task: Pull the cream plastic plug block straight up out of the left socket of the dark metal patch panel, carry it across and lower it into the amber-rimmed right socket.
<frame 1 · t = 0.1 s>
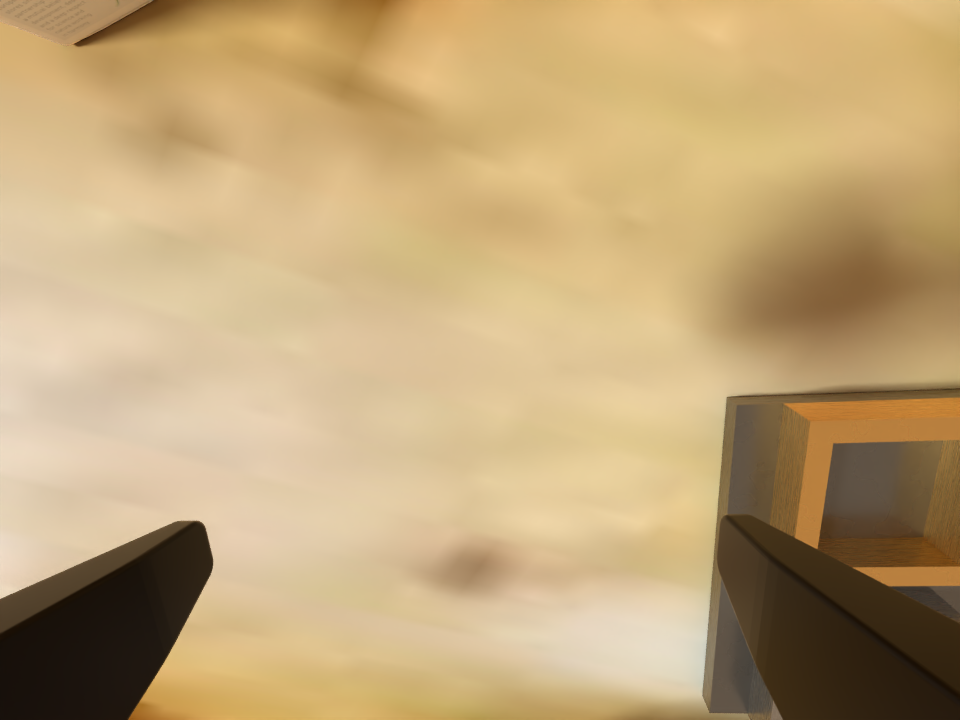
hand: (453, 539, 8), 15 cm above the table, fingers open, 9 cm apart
panel: (835, 559, 24), on the table
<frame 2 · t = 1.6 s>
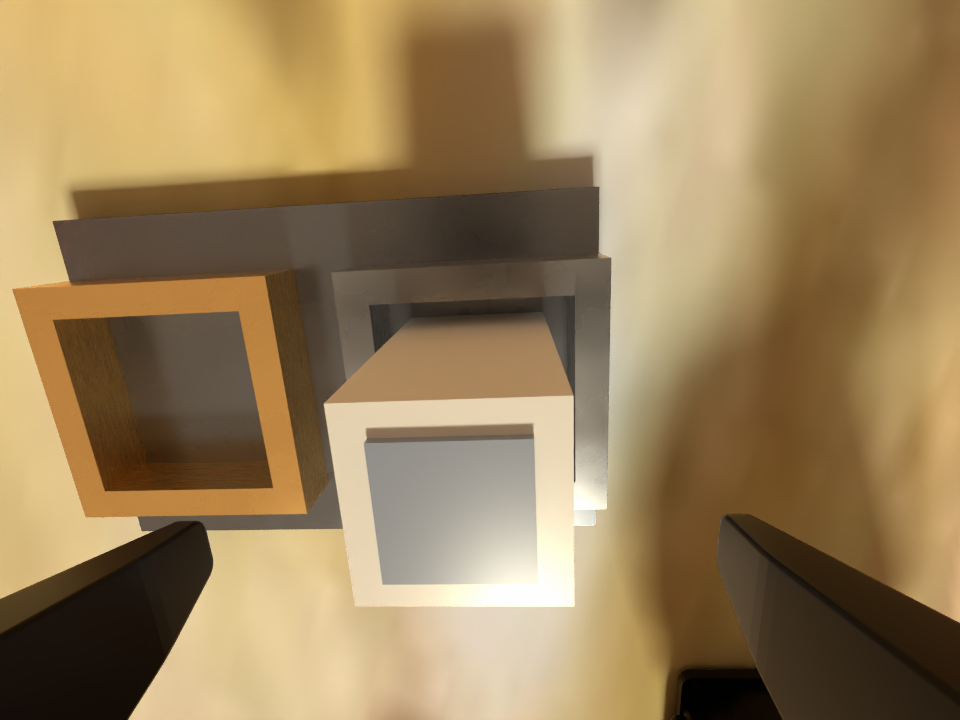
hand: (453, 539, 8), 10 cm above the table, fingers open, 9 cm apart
plug: (480, 377, 17), point 1 cm above the table, touching panel
panel: (348, 373, 18), on the table
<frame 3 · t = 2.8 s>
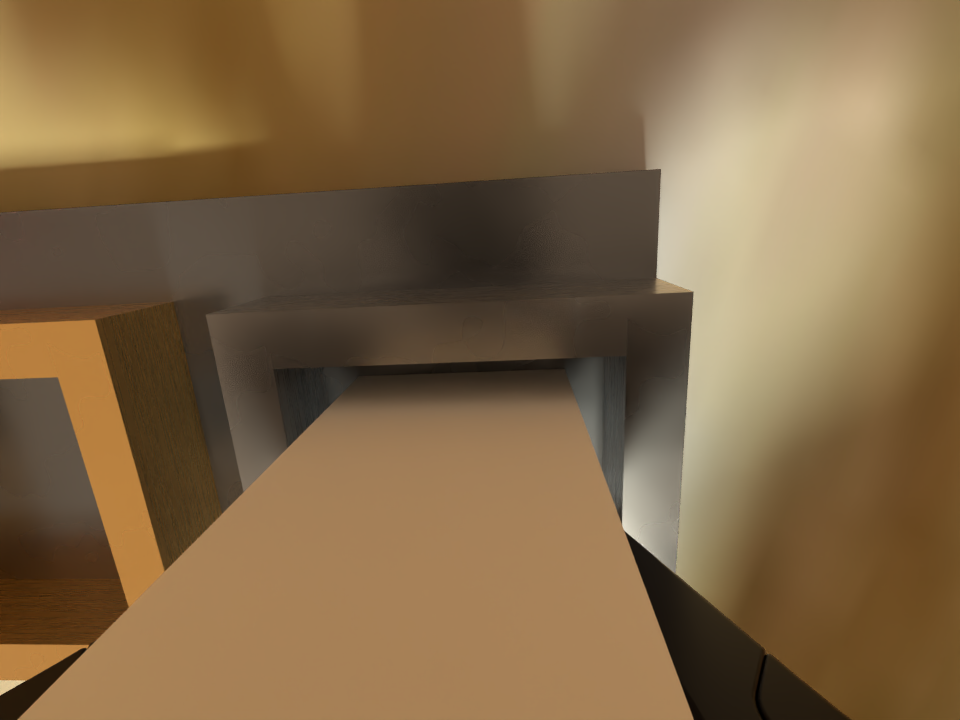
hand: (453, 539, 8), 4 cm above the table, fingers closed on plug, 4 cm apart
plug: (466, 465, 11), point 1 cm above the table, touching gripper, panel
panel: (273, 450, 12), on the table
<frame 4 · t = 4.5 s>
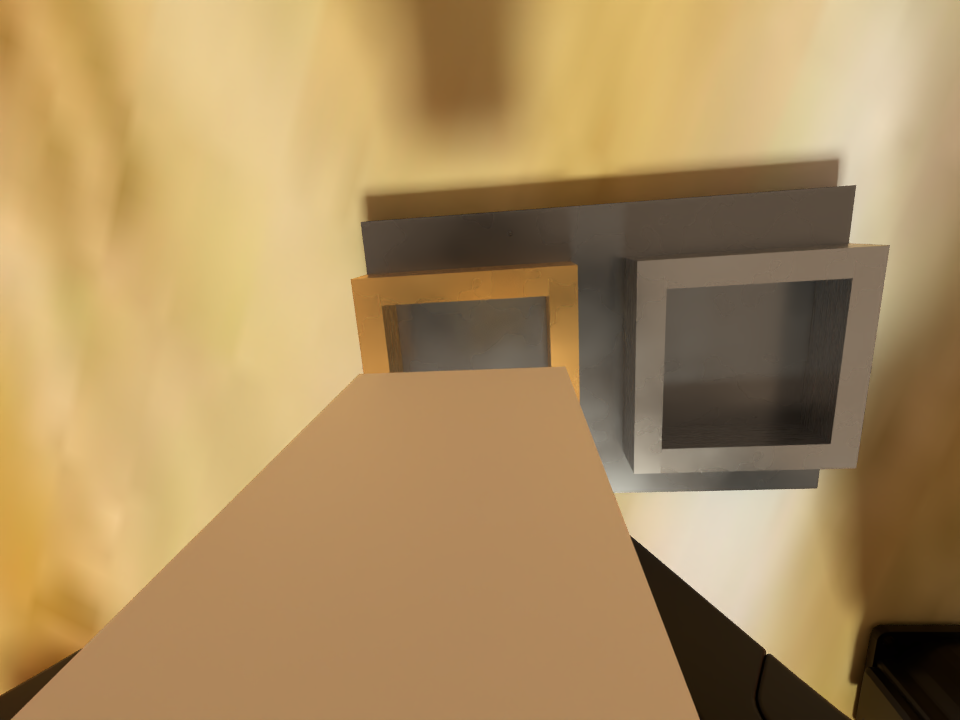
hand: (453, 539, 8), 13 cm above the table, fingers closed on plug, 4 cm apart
plug: (467, 463, 11), point 10 cm above the table, touching gripper
panel: (594, 354, 20), on the table
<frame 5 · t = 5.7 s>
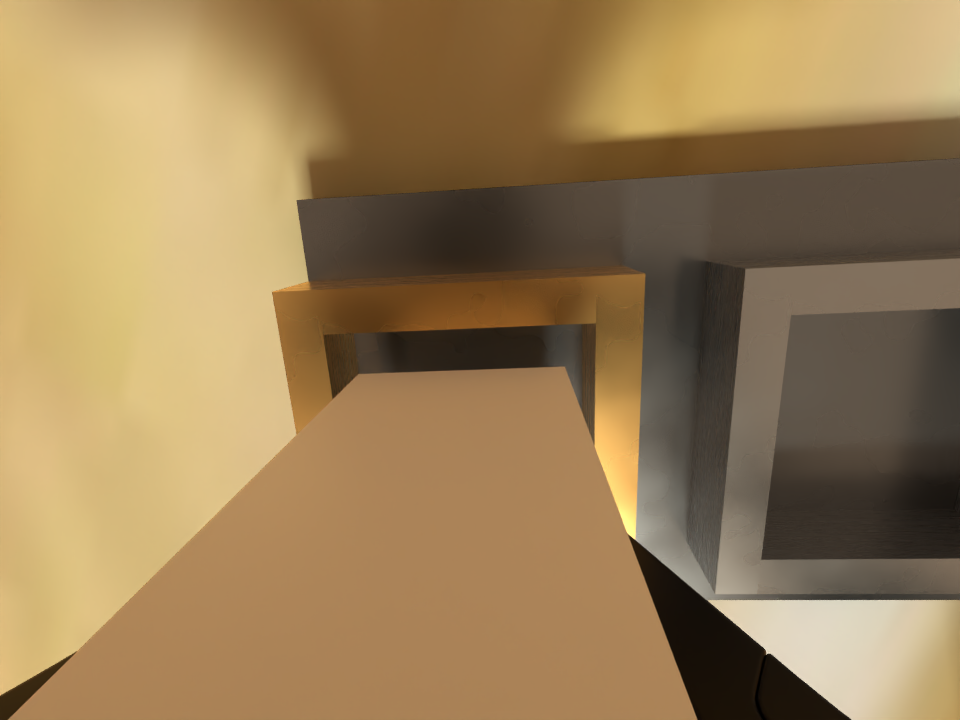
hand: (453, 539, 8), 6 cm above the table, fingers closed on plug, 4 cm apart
plug: (466, 464, 11), point 4 cm above the table, touching gripper
panel: (647, 401, 14), on the table
when the fingers open (4 cm above the table, at t = 6.4 s): plug stays where it is, resting on panel.
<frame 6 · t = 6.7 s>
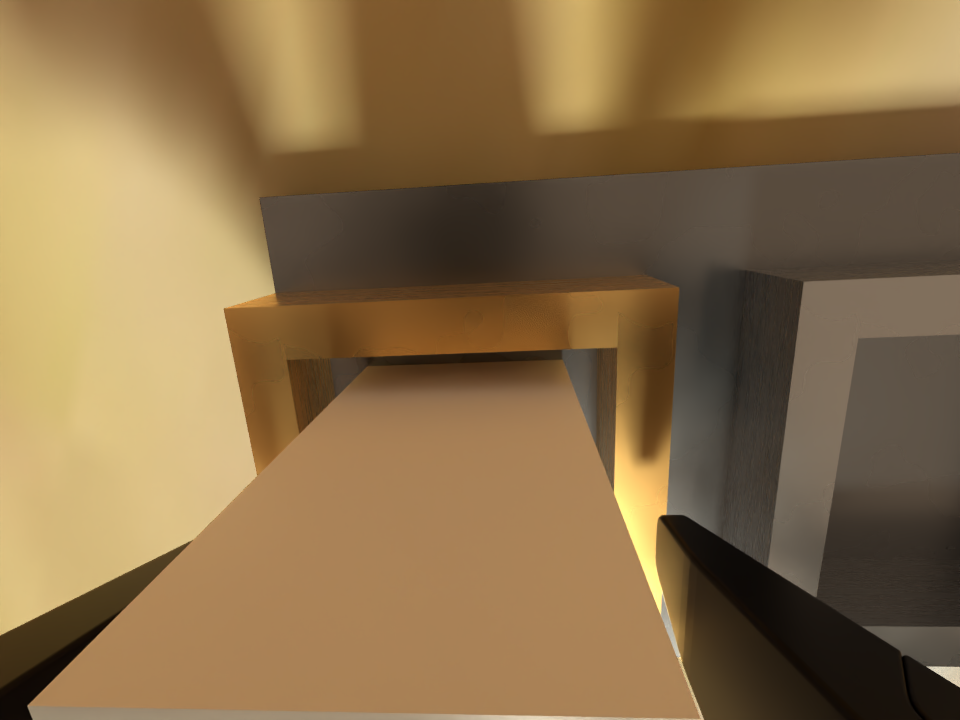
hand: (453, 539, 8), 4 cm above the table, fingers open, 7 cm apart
plug: (469, 452, 11), point 1 cm above the table, touching panel
panel: (670, 431, 12), on the table
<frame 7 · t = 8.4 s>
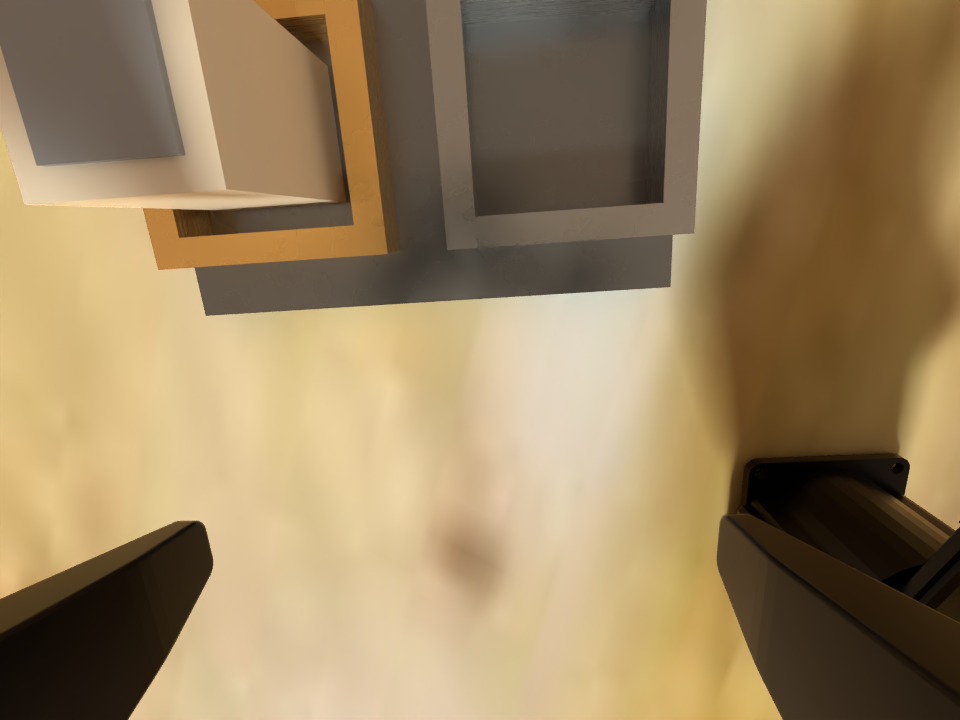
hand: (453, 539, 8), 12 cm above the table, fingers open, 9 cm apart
plug: (276, 141, 17), point 1 cm above the table, touching panel
panel: (419, 136, 18), on the table
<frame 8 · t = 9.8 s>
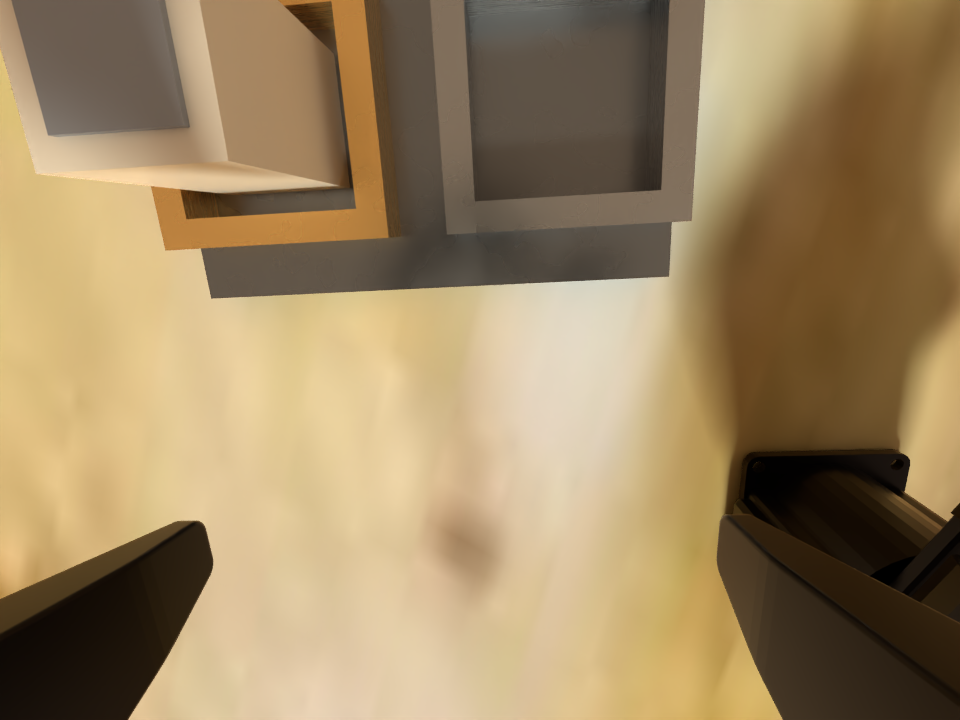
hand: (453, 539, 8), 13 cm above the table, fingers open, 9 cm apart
plug: (283, 127, 17), point 1 cm above the table, touching panel
panel: (422, 124, 18), on the table
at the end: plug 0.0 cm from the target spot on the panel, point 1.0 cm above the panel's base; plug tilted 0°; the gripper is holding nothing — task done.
